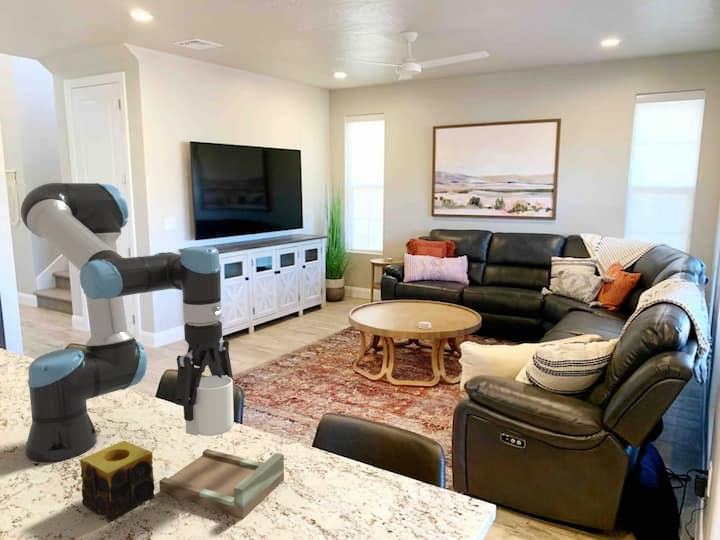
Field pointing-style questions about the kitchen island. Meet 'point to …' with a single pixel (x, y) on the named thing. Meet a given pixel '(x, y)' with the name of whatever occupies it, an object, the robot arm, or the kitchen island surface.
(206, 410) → the cup
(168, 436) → the kitchen island surface
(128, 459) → the candle
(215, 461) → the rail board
